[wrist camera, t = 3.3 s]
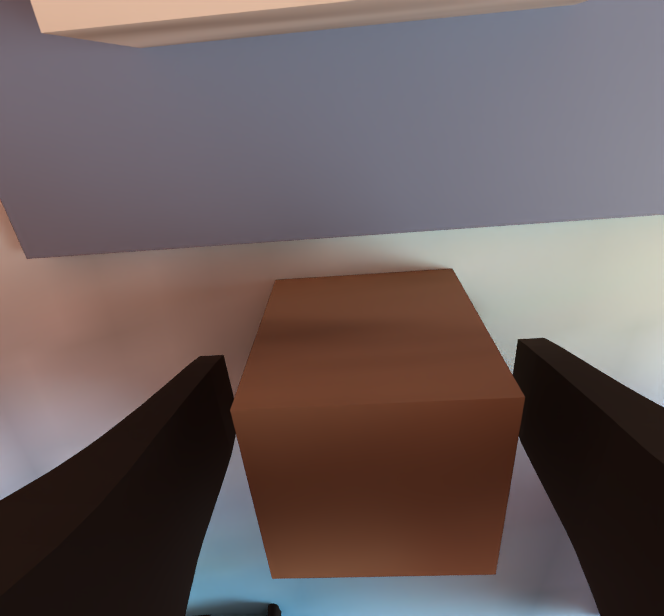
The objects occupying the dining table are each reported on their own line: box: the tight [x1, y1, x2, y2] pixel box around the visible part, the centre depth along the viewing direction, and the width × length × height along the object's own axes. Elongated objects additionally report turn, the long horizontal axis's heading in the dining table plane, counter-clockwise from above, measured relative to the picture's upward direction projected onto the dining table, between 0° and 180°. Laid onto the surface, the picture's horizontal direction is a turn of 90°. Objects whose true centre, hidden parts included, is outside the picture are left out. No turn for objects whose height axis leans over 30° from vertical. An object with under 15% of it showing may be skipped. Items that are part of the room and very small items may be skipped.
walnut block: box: [230, 269, 525, 579], centre depth 10 cm, size 4×4×5 cm
